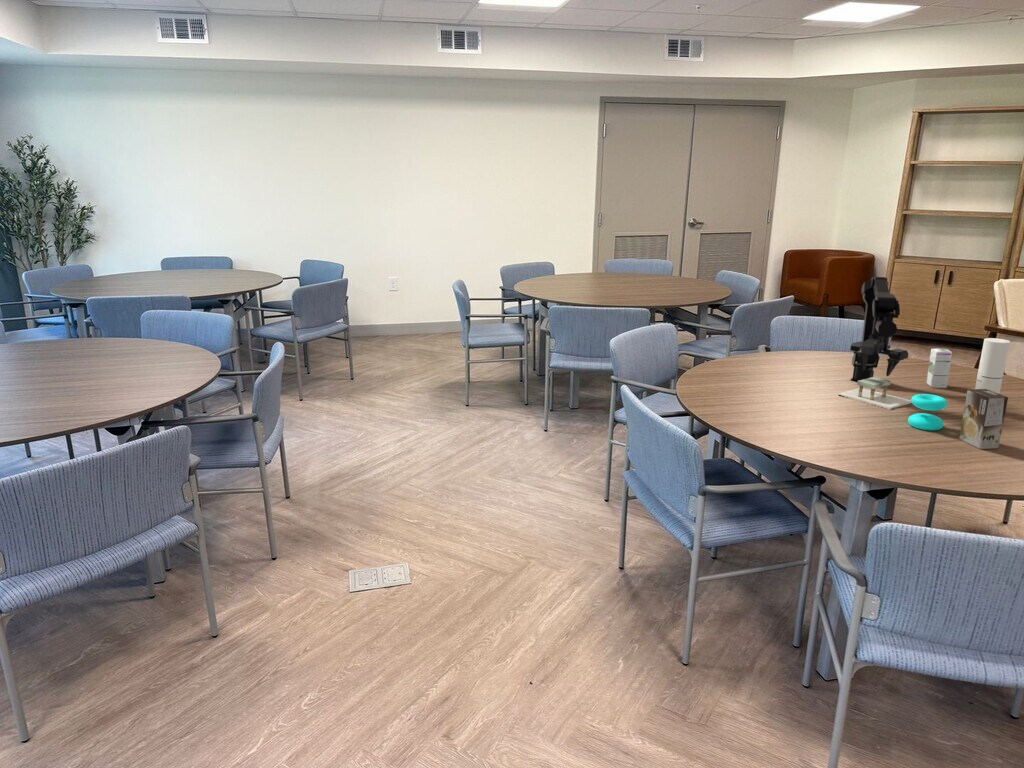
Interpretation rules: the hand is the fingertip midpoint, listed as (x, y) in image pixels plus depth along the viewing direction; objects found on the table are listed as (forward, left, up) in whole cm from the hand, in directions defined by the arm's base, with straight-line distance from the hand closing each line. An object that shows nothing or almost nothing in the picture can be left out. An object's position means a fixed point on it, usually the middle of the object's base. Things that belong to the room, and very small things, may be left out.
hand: (875, 373), depth 246 cm
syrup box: (+4, +36, -10) cm, 38 cm away
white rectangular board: (+1, 0, -10) cm, 10 cm away
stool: (0, 0, -9) cm, 9 cm away
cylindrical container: (+29, +19, -10) cm, 36 cm away
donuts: (+27, -14, -10) cm, 32 cm away
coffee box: (+44, -16, -10) cm, 48 cm away
